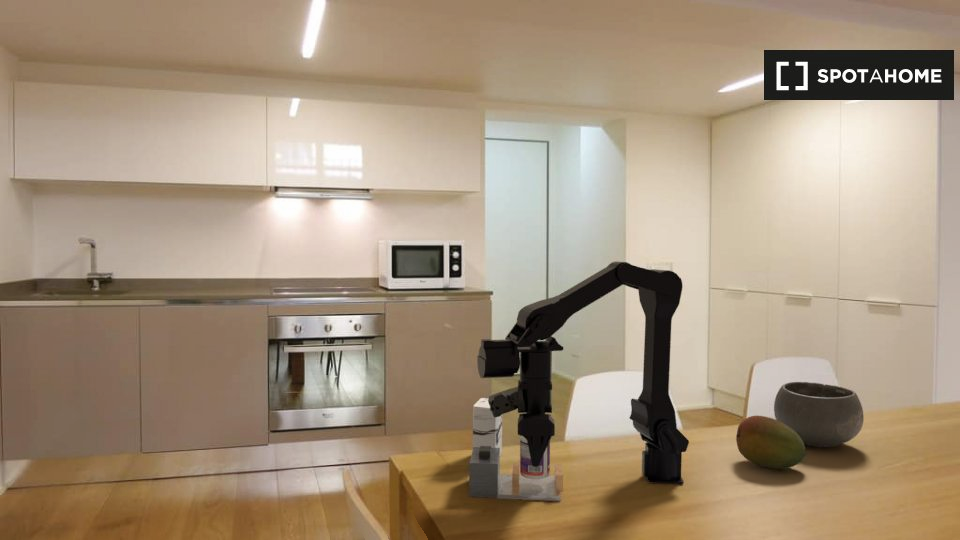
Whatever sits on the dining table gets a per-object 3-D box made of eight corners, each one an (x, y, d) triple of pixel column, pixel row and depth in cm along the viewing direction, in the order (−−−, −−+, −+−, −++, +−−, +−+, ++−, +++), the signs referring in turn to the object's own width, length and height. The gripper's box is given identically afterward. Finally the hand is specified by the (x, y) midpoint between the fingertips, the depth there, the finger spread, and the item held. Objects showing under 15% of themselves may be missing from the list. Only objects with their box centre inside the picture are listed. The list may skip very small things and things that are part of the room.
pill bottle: (533, 467, 123) (534, 415, 123) (555, 474, 119) (556, 421, 119) (513, 474, 119) (514, 421, 119) (535, 482, 115) (536, 427, 115)
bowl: (864, 440, 150) (866, 386, 150) (860, 462, 135) (862, 401, 135) (779, 428, 160) (781, 376, 159) (767, 447, 145) (768, 390, 144)
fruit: (731, 454, 140) (732, 408, 139) (795, 459, 137) (796, 411, 137) (741, 473, 128) (743, 423, 128) (811, 478, 126) (812, 427, 125)
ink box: (495, 466, 131) (496, 408, 131) (471, 464, 132) (471, 406, 132) (502, 453, 140) (503, 398, 139) (479, 451, 141) (480, 397, 140)
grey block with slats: (560, 480, 124) (560, 442, 124) (563, 501, 114) (563, 460, 114) (473, 477, 125) (473, 440, 125) (468, 497, 115) (469, 457, 115)
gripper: (493, 365, 128) (493, 444, 129) (487, 386, 110) (487, 478, 110) (551, 365, 128) (550, 445, 128) (555, 387, 109) (554, 480, 110)
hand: (535, 460), depth 119 cm, fingers closed on pill bottle, 5 cm apart
